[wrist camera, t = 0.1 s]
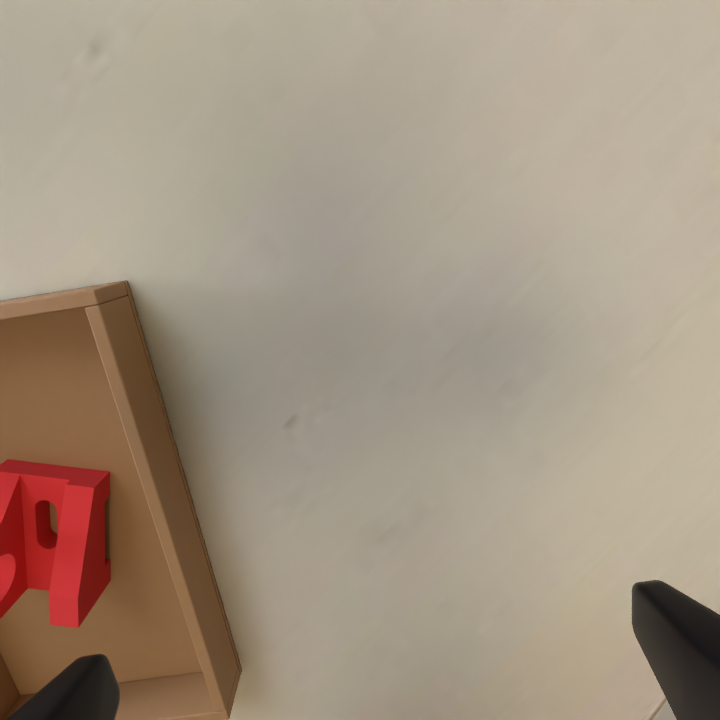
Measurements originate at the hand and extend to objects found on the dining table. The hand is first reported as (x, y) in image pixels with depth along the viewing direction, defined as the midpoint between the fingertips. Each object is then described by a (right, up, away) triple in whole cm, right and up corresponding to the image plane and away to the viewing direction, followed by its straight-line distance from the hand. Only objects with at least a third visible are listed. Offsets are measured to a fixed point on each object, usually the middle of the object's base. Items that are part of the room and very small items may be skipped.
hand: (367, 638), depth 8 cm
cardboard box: (-15, -3, +16) cm, 22 cm away
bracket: (-15, -3, +16) cm, 22 cm away
